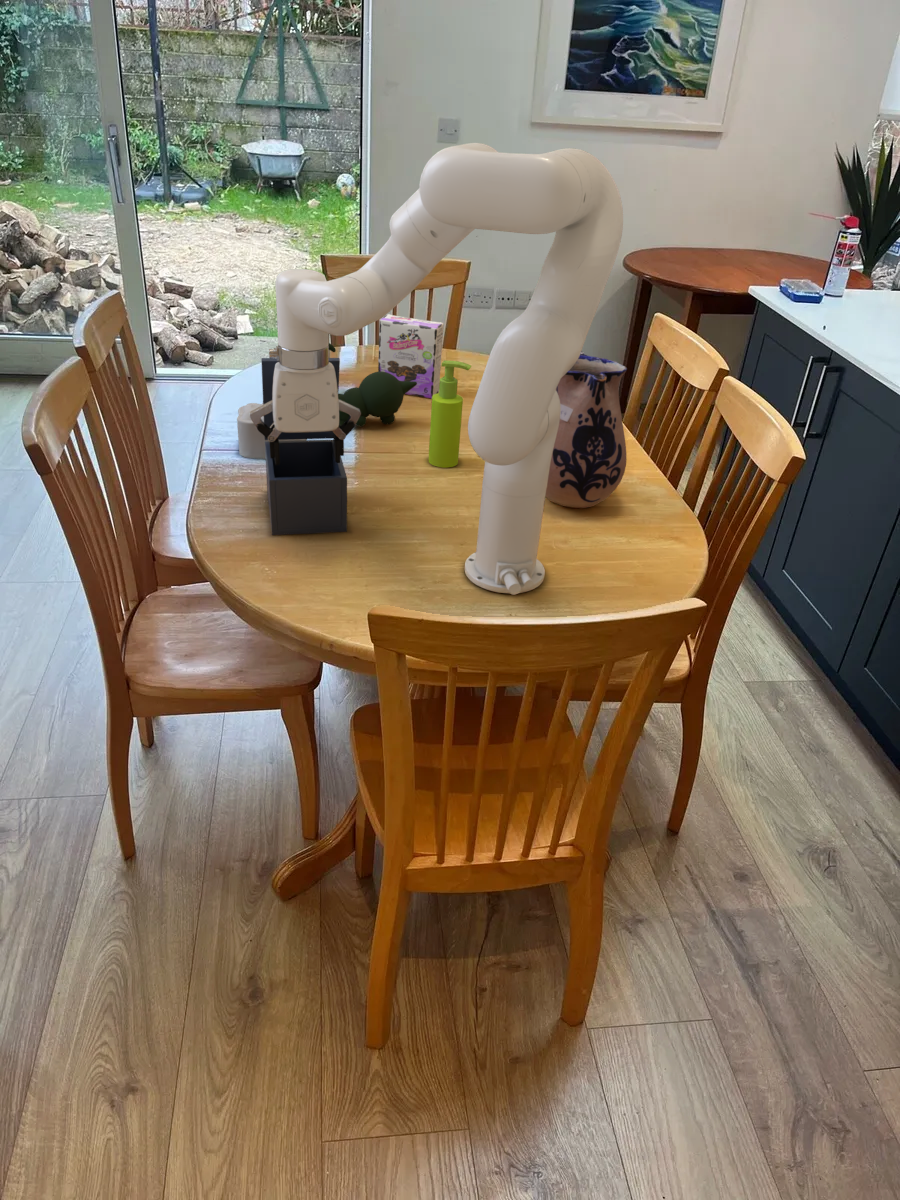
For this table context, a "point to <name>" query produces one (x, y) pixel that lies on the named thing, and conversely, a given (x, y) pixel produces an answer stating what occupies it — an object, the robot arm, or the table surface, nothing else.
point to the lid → (267, 386)
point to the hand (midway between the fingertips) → (307, 460)
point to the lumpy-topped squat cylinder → (251, 434)
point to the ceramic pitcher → (588, 435)
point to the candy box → (411, 352)
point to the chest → (306, 488)
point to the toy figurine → (375, 396)
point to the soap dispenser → (446, 419)
